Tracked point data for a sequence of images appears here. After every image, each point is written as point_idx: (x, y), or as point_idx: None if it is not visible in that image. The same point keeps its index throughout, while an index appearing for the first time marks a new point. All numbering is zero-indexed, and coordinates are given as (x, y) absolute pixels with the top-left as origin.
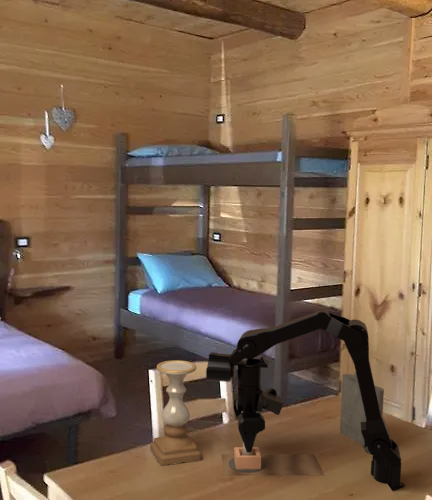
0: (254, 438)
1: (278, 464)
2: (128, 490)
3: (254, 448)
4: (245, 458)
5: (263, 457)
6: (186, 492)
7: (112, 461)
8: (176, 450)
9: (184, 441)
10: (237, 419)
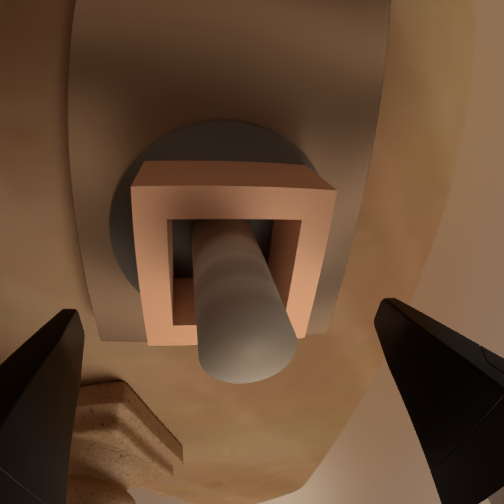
0: (497, 363)
1: (238, 33)
2: (305, 460)
3: (161, 220)
4: (314, 288)
5: (116, 118)
6: (352, 392)
7: (168, 487)
8: (156, 462)
9: (118, 467)
10: (64, 500)
